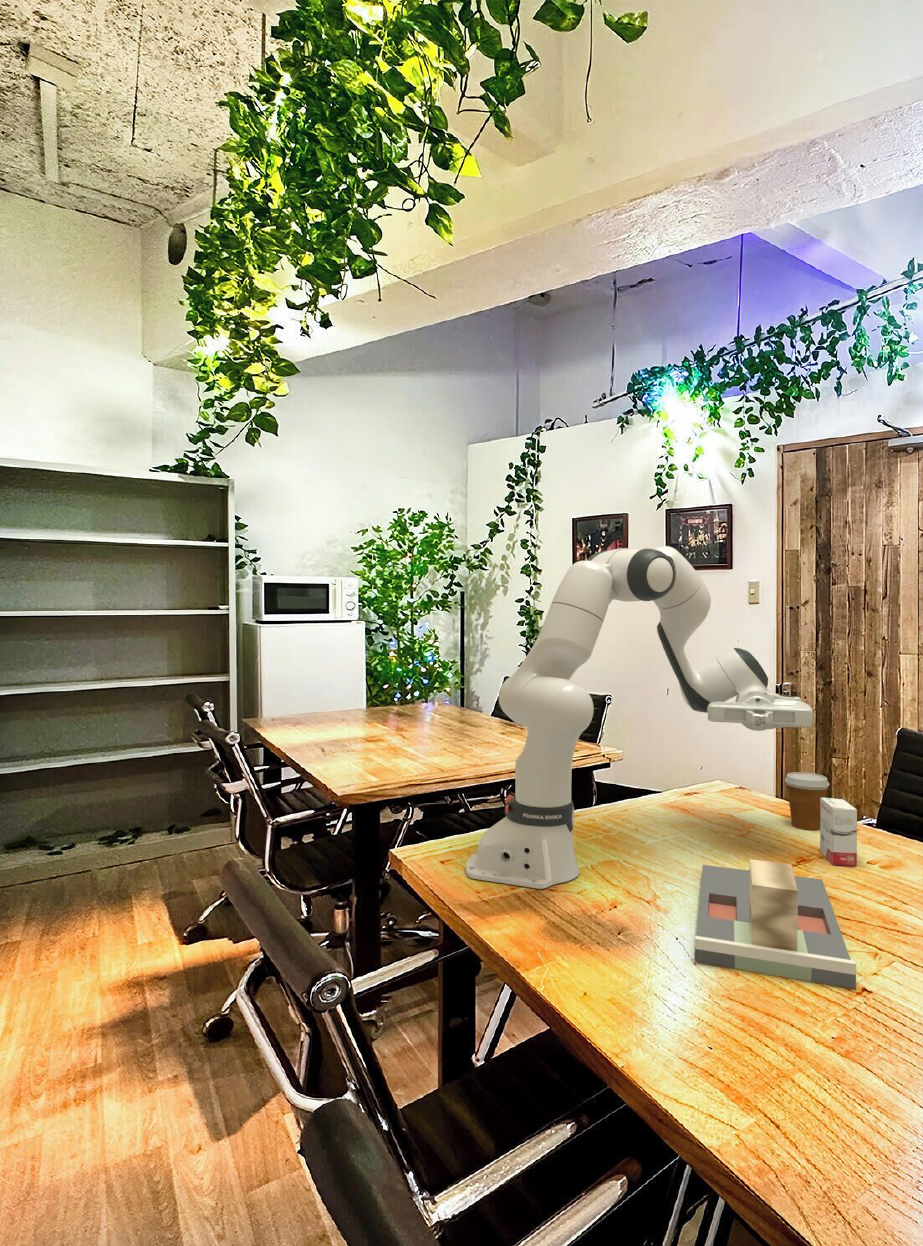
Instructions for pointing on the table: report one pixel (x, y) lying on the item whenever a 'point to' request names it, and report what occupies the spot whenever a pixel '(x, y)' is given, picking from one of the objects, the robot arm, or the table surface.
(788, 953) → the trap runway
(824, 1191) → the table surface
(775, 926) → the maple block
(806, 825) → the disposable coffee cup
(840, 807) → the ink box
